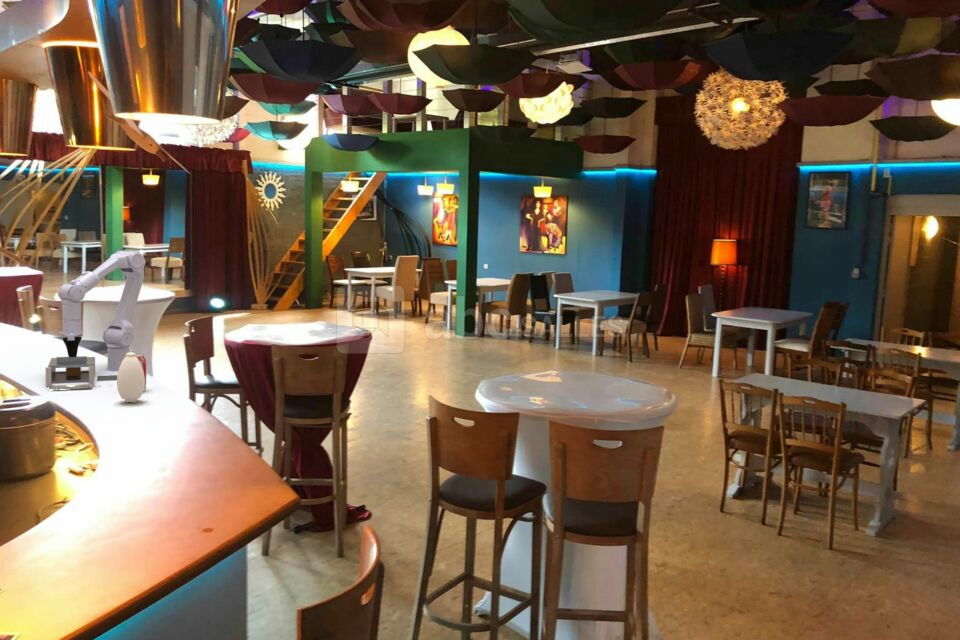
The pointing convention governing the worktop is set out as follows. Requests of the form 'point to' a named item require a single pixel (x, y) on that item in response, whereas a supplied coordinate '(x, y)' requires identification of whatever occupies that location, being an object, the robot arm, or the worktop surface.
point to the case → (61, 377)
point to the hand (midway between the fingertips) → (72, 358)
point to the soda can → (142, 364)
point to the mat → (107, 378)
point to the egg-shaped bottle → (130, 378)
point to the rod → (72, 386)
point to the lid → (71, 362)
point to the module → (73, 371)
